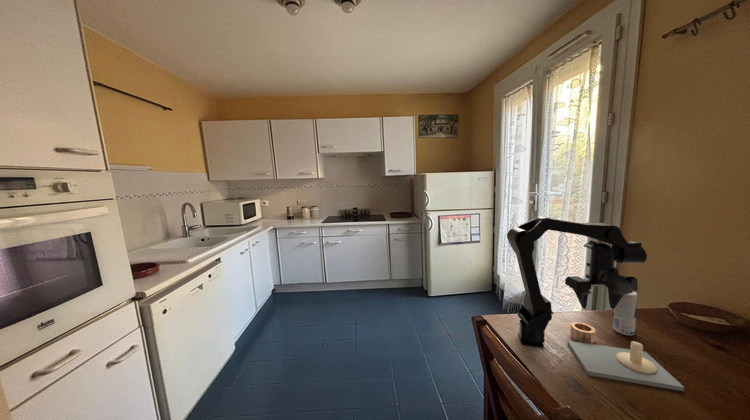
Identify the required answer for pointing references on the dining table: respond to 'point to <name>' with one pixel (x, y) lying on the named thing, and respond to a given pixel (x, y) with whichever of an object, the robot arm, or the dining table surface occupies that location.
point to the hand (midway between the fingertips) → (598, 308)
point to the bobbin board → (623, 364)
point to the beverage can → (625, 314)
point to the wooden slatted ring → (583, 333)
